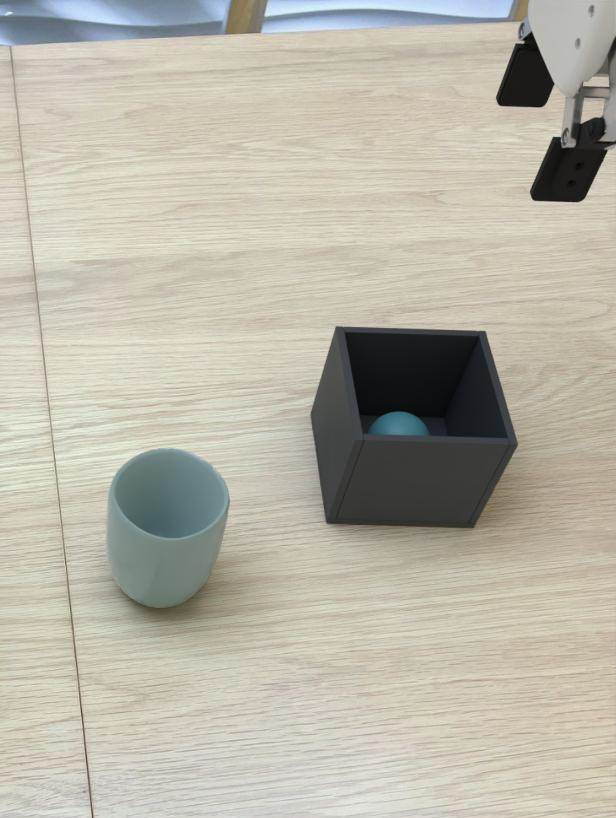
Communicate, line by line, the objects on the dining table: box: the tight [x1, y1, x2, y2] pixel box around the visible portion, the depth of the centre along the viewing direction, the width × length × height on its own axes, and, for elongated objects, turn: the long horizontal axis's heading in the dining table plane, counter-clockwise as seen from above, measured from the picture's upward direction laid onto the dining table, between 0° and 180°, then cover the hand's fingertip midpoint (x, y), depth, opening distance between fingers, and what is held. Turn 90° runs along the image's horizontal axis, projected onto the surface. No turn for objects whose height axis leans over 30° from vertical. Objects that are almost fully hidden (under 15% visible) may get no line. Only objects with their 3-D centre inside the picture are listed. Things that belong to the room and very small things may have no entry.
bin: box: [310, 325, 519, 529], centre depth 82 cm, size 11×11×10 cm
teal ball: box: [367, 412, 430, 436], centre depth 83 cm, size 5×5×5 cm
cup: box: [105, 447, 231, 609], centre depth 75 cm, size 8×8×10 cm
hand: (536, 149), depth 68 cm, fingers open, 9 cm apart
